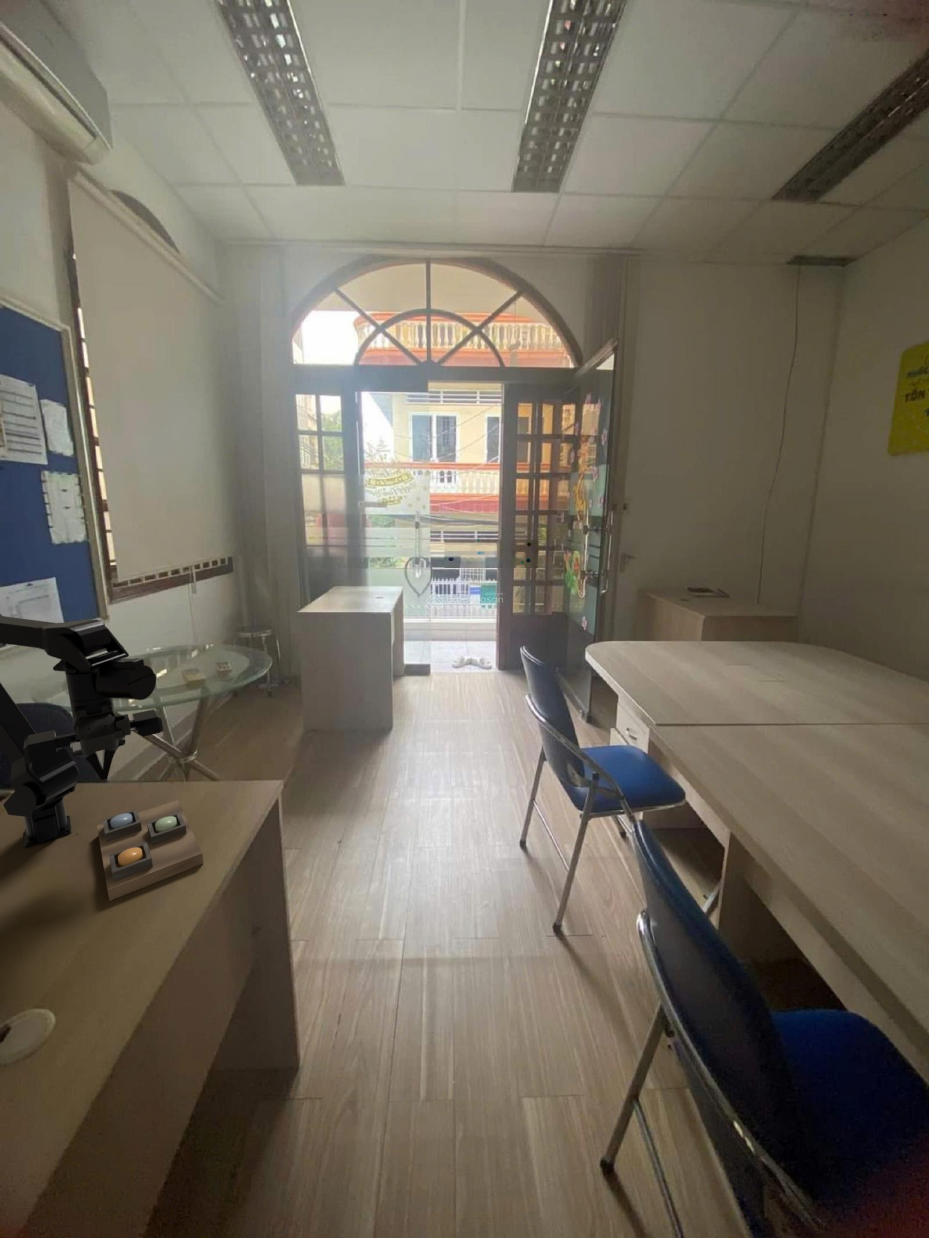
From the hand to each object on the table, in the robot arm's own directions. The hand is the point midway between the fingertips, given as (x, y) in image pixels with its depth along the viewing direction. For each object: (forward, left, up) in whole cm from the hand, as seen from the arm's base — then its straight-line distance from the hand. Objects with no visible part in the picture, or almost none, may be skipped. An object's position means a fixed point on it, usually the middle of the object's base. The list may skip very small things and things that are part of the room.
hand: (104, 779), depth 86 cm
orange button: (+13, +2, -9) cm, 16 cm away
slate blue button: (+1, +1, -10) cm, 10 cm away
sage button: (+7, +8, -9) cm, 14 cm away
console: (+7, +4, -12) cm, 15 cm away
